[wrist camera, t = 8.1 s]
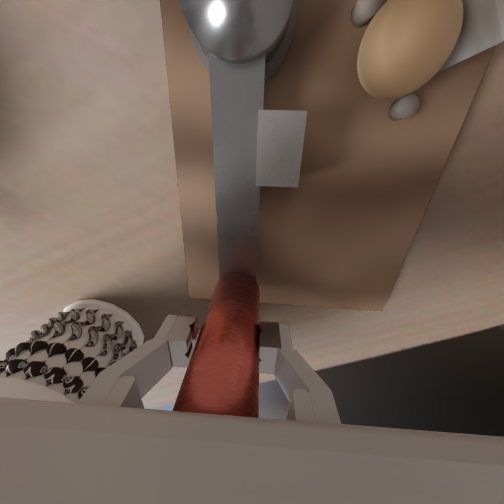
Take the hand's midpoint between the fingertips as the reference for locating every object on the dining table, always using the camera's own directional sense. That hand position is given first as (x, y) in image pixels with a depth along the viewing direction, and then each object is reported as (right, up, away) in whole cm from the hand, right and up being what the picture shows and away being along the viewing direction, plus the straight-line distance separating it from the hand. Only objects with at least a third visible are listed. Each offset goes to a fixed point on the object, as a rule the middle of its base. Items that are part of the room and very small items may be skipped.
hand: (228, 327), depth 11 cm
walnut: (+8, +14, 0) cm, 16 cm away
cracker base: (+5, +9, +3) cm, 11 cm away
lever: (+1, +9, +1) cm, 9 cm away
